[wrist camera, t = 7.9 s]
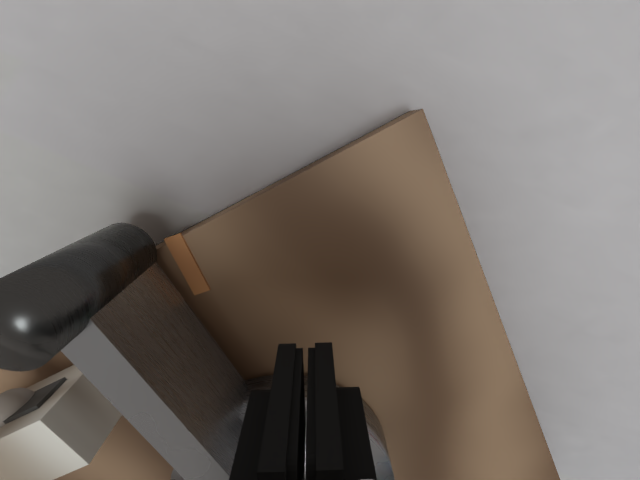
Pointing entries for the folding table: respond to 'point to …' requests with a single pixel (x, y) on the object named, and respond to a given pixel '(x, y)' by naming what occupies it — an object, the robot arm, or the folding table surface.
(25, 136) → the folding table surface
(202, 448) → the crank wheel
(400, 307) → the stand base
